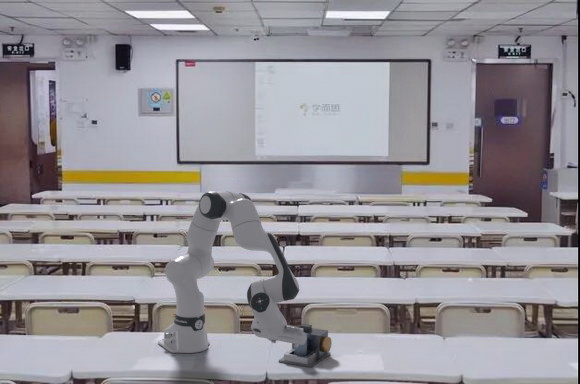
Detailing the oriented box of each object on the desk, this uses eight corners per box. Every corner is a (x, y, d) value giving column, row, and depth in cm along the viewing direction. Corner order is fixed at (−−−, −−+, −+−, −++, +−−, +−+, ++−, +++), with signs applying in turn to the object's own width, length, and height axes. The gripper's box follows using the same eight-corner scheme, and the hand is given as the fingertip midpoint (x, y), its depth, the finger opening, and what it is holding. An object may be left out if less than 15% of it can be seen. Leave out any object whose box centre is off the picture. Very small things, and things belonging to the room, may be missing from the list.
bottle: (291, 358, 290) (291, 328, 289) (300, 356, 293) (300, 326, 292) (300, 362, 286) (300, 331, 285) (309, 359, 290) (309, 329, 289)
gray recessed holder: (278, 362, 289) (278, 332, 287) (298, 349, 305) (299, 320, 303) (313, 368, 282) (314, 337, 281) (332, 354, 298) (333, 325, 297)
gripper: (302, 321, 266) (313, 340, 276) (253, 312, 275) (265, 331, 285) (297, 337, 262) (308, 355, 272) (246, 327, 272) (259, 346, 281)
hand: (285, 343), depth 279 cm, fingers open, 8 cm apart
